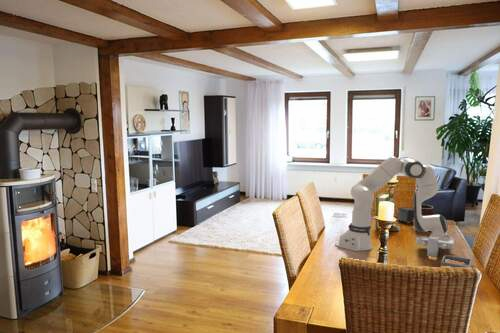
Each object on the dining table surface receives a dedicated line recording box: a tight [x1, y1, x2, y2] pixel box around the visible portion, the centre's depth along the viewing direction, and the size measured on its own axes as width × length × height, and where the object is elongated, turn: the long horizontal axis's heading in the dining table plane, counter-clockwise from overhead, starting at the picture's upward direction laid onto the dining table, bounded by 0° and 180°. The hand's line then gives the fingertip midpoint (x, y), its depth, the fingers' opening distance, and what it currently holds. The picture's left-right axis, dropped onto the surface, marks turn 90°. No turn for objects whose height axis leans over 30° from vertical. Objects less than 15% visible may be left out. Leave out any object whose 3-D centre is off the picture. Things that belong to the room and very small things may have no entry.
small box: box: [397, 206, 414, 223], centre depth 306 cm, size 11×6×10 cm, turn 22°
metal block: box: [426, 235, 439, 258], centre depth 224 cm, size 5×5×12 cm
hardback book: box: [374, 192, 394, 230], centre depth 290 cm, size 18×7×24 cm, turn 146°
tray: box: [440, 254, 474, 268], centre depth 212 cm, size 14×14×4 cm
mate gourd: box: [412, 204, 435, 219], centre depth 282 cm, size 16×14×20 cm
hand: (433, 246), depth 225 cm, fingers open, 8 cm apart
